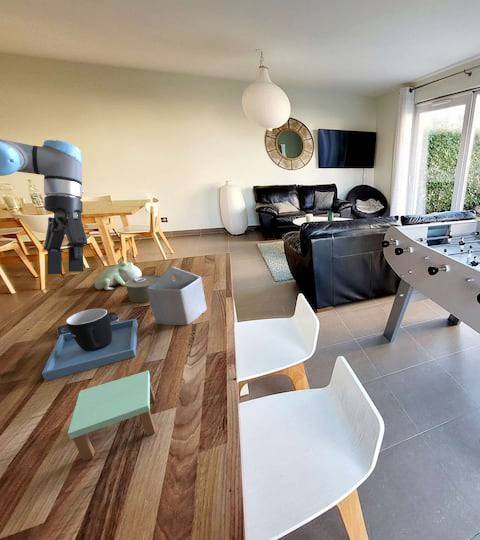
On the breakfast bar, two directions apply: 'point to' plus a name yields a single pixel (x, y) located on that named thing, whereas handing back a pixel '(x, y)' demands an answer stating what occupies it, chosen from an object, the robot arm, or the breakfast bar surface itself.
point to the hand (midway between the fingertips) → (65, 272)
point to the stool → (111, 408)
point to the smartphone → (64, 330)
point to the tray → (91, 352)
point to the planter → (177, 297)
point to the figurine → (117, 275)
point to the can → (140, 288)
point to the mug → (91, 329)
